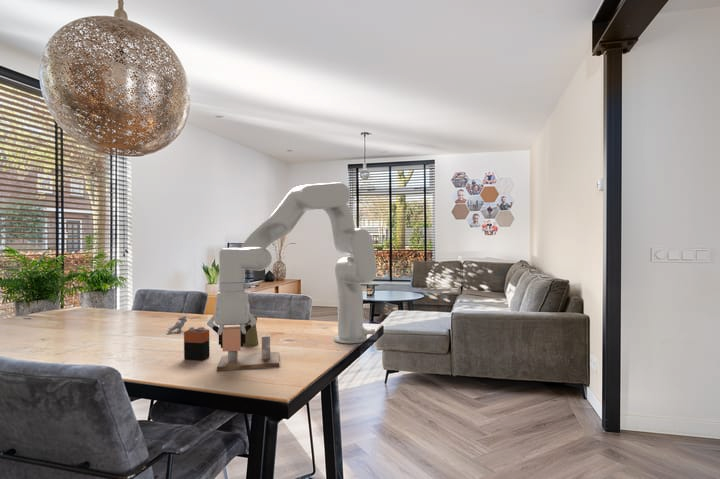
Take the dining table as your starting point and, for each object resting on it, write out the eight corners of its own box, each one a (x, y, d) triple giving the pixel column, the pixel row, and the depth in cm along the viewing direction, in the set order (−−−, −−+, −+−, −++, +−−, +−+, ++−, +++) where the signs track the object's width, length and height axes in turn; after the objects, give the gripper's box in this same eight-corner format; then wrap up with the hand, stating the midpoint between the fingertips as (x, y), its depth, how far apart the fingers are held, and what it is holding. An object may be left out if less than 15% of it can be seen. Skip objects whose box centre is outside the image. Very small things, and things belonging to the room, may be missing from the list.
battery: (202, 360, 131) (202, 329, 131) (183, 359, 132) (183, 328, 132) (210, 357, 135) (209, 326, 135) (191, 356, 136) (191, 325, 136)
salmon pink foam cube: (241, 346, 130) (241, 325, 130) (240, 350, 125) (240, 328, 125) (224, 347, 129) (224, 326, 129) (222, 351, 124) (222, 329, 124)
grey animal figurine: (161, 332, 172) (178, 321, 180) (170, 342, 172) (188, 330, 179) (167, 320, 166) (185, 308, 174) (177, 330, 166) (194, 318, 173)
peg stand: (278, 355, 136) (278, 330, 136) (279, 366, 124) (279, 339, 124) (221, 359, 132) (221, 333, 132) (216, 371, 121) (216, 343, 121)
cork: (254, 347, 147) (253, 316, 147) (238, 346, 148) (238, 315, 148) (261, 342, 153) (261, 313, 153) (246, 342, 154) (246, 312, 154)
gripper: (260, 285, 133) (261, 342, 133) (204, 287, 129) (205, 345, 129) (260, 288, 125) (260, 348, 125) (200, 289, 122) (201, 351, 122)
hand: (232, 345), depth 127 cm, fingers closed on salmon pink foam cube, 5 cm apart
